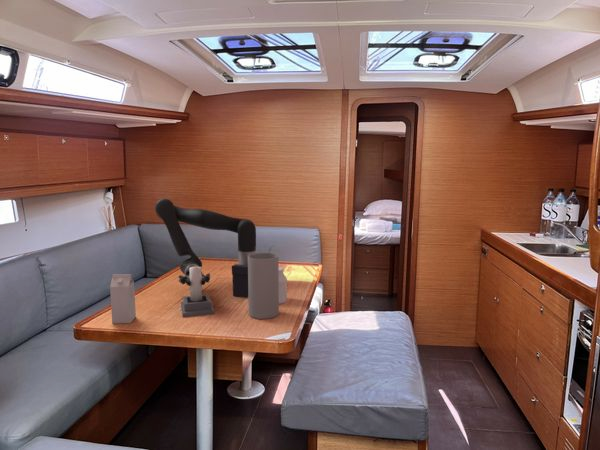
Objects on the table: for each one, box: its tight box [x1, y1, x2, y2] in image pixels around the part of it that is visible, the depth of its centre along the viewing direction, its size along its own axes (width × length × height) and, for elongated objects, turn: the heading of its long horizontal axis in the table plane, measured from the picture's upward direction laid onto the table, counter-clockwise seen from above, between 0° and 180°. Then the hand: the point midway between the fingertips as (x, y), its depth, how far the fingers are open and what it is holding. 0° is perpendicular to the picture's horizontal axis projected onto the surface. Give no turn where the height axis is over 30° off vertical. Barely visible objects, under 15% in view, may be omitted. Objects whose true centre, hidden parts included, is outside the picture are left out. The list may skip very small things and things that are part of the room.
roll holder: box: [180, 294, 216, 318], centre depth 189 cm, size 13×16×4 cm
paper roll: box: [189, 267, 203, 302], centre depth 187 cm, size 5×5×14 cm
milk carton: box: [109, 273, 137, 324], centre depth 174 cm, size 7×7×19 cm
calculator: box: [231, 263, 249, 299], centre depth 206 cm, size 11×4×15 cm, turn 71°
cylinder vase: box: [247, 252, 280, 320], centre depth 181 cm, size 12×12×25 cm
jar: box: [279, 266, 288, 305], centre depth 200 cm, size 12×10×15 cm
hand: (196, 283), depth 185 cm, fingers closed on paper roll, 5 cm apart
